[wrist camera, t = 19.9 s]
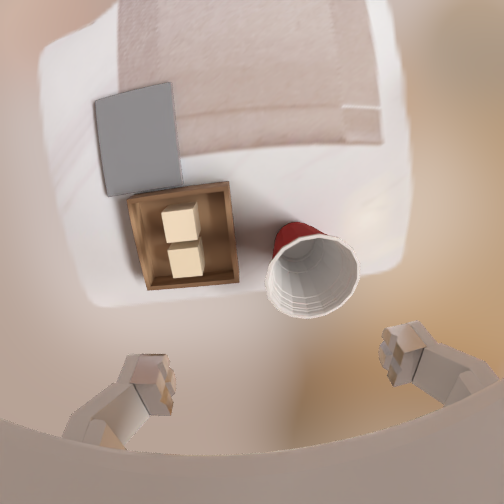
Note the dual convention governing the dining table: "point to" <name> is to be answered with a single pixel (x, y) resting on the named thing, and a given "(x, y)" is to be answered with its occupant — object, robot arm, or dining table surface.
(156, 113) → the slate board
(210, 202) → the walnut bin
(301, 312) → the plastic cup
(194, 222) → the cream wooden cube
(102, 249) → the dining table surface
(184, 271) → the beige block
